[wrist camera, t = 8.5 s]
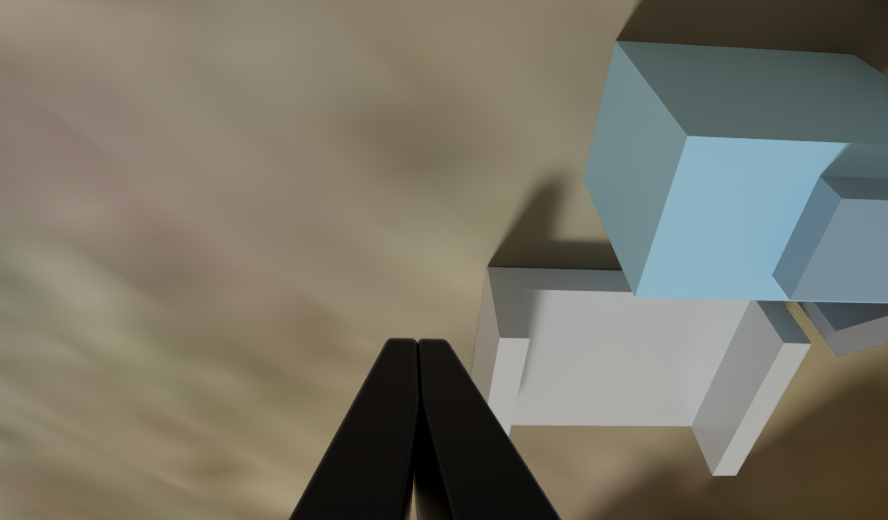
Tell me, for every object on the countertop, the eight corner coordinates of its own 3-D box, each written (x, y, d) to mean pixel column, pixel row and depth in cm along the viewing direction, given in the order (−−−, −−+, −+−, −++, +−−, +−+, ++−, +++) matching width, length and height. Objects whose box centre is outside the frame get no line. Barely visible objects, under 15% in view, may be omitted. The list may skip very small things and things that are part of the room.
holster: (763, 274, 20) (811, 343, 18) (702, 404, 24) (735, 475, 22) (487, 266, 20) (499, 337, 17) (467, 401, 23) (474, 475, 21)
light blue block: (851, 53, 16) (1029, 171, 12) (791, 186, 19) (920, 328, 14) (614, 39, 16) (704, 157, 11) (582, 177, 18) (645, 323, 14)
